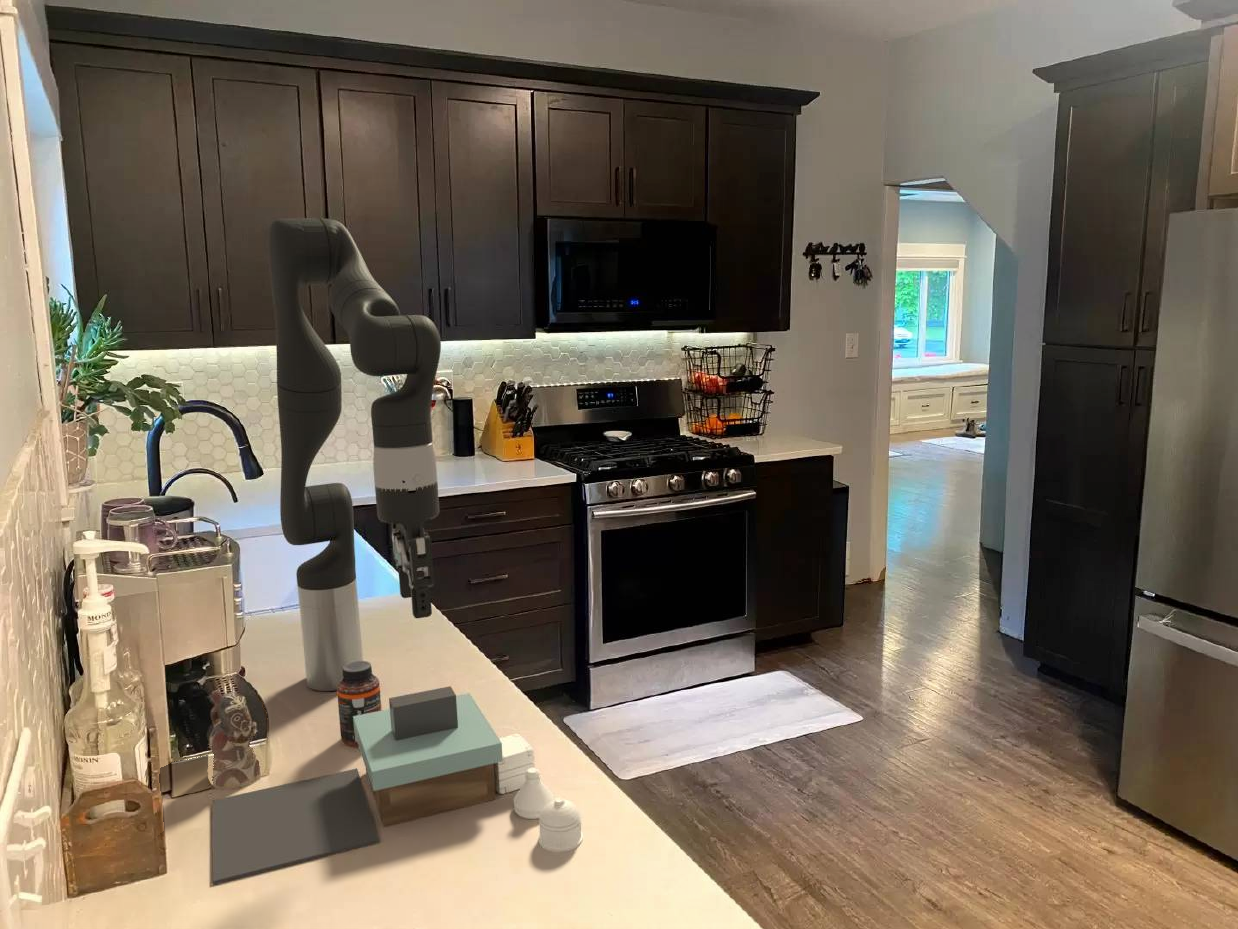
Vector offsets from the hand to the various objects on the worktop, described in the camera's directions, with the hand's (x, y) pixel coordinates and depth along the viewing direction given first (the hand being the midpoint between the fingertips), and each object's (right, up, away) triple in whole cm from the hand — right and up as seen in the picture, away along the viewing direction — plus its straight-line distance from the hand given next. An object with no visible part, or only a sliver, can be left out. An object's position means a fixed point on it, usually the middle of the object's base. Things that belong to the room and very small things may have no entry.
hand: (415, 606), depth 117 cm
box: (+1, -24, +5) cm, 25 cm away
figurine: (-26, -24, +8) cm, 37 cm away
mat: (-14, -26, -3) cm, 30 cm away
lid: (+1, -19, +4) cm, 19 cm away
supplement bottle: (-12, -22, +18) cm, 31 cm away
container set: (+15, -25, -1) cm, 30 cm away
